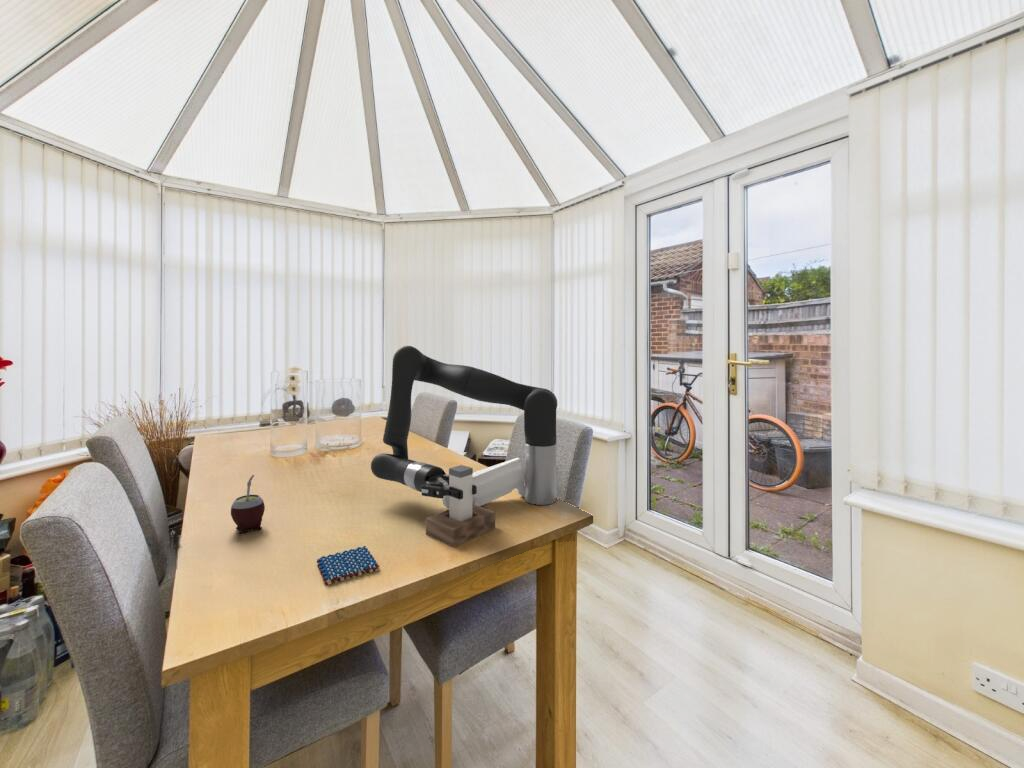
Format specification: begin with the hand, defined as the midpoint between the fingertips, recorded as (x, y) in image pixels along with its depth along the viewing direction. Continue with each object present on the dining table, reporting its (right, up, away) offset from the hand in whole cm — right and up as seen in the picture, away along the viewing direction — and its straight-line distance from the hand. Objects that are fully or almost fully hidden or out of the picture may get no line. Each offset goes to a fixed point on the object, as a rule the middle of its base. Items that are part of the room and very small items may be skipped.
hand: (468, 492), depth 101 cm
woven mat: (-23, -12, -15) cm, 30 cm away
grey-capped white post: (-2, -8, +2) cm, 9 cm away
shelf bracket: (+3, -9, +21) cm, 23 cm away
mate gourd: (-55, -10, +3) cm, 56 cm away
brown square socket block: (-2, -10, +3) cm, 11 cm away
